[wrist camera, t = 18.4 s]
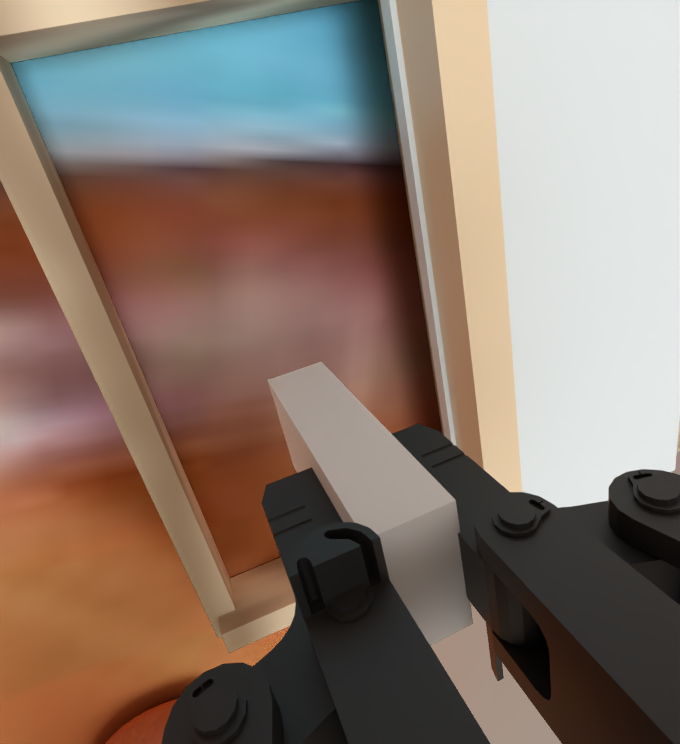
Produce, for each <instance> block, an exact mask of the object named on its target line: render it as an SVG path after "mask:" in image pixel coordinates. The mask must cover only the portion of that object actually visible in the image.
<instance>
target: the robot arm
mask: <svg viewBox="0 0 680 744" xmlns="http://www.w3.org/2000/svg"><path fill="white" fill-rule="evenodd" d="M268 383H269V387H270V390H271V393H272V397H273V400H274V403H275V407H276V410H277V413H278V417H279V420H280V423H281V426H282V430H283V433H284V436H285V440H286V443H287V446H288V450H289V453H290V456H291V460H292V463H293V466H294V468H295V470H296V472H297V473H296V474H293V475H291V476H288V477H286V478H283V479H281V480H278V481H276V482H273V483H270V484H268V485H266V489H265V493H264V497H263V501H262V505H263V508H264V511H265V514H266V516H267V519H268V522H269V525H270V528H271V531H272V534H273V537H274V539H275V542H276V545H277V548H278V551H279V554H280V557H281V560H282V562H283V565H284V568H285V571H286V574H287V576H288V579H289V582H290V585H291V588H292V590H293V593H294V596H295V601H296V606H295V615H294V618H293V620H292V623H291V626H290V628H289V629H288V631H287V633H286V634H285V636H284V637H283V639H282V640H281V641H280V642H279V643H278V644H277V645H276V646H275V647H274V648H273V649H272V650H271V651H270V652H269V653H268V654H267V655H266V656H265V657H263V658H262V659H261V660H260V661H259V662H258V663H256V664H255V665H254V666H253V667H252V666H249V665H247V664H244V663H229V664H222V665H220V666H218V667H215V668H213V669H211V670H208V671H206V672H204V673H203V674H202V675H200V676H199V677H198V678H197V679H196V680H194V681H193V682H192V683H191V684H189V685H188V686H187V687H186V688H185V690H184V691H183V693H182V694H181V695H180V697H179V698H178V700H177V701H176V702H175V704H174V705H173V706H172V709H171V712H170V715H169V717H168V720H167V723H166V726H165V728H164V733H163V738H162V743H161V744H490V742H489V741H488V739H487V738H486V736H485V734H484V733H483V731H482V729H481V728H480V726H479V725H478V723H477V721H476V720H475V718H474V717H473V715H472V713H471V711H470V710H469V708H468V707H467V705H466V703H465V702H464V700H463V698H462V697H461V695H460V694H459V692H458V690H457V689H456V687H455V685H454V684H453V682H452V681H451V679H450V677H449V676H448V674H447V672H446V671H445V669H444V667H443V666H442V664H441V663H440V661H439V659H438V658H437V656H436V654H435V653H434V651H433V650H432V648H431V646H430V645H432V644H434V643H436V642H438V641H440V640H442V639H444V638H446V637H448V636H450V635H452V634H454V633H456V632H458V631H459V630H461V629H464V628H465V627H467V626H469V625H471V624H473V620H472V613H471V605H470V602H471V603H472V604H473V606H474V607H475V608H476V610H477V611H478V612H479V614H480V615H481V616H482V617H483V619H484V620H485V621H486V626H487V634H488V642H489V650H490V658H491V666H492V670H493V672H494V674H495V676H496V678H497V681H499V680H501V679H503V669H502V662H503V664H504V665H505V667H506V668H507V669H508V671H509V672H510V673H511V675H512V676H513V678H514V679H515V680H516V682H517V683H518V684H519V686H520V687H521V688H522V690H523V691H524V692H525V694H526V695H527V697H528V698H529V699H530V701H531V702H532V703H533V705H534V706H535V707H536V709H537V710H538V712H539V713H540V714H541V716H542V717H543V718H544V720H545V721H546V722H547V724H548V725H549V726H550V728H551V729H552V731H553V732H554V733H555V735H556V736H557V737H558V738H559V740H560V741H561V743H562V744H680V475H678V474H674V473H670V472H666V471H663V470H650V469H641V470H634V471H628V472H625V473H623V474H621V475H620V476H618V477H616V478H614V480H613V481H612V483H611V484H610V486H609V491H608V501H602V502H596V503H590V504H584V505H578V506H572V507H560V508H557V507H556V506H555V505H554V504H552V503H551V502H549V501H547V500H545V499H543V498H542V497H540V496H537V495H533V494H529V493H525V492H509V491H508V490H507V489H506V488H505V487H504V486H502V485H501V484H500V483H499V482H498V481H497V480H495V479H494V478H493V477H492V476H491V475H489V474H488V473H487V472H486V471H485V470H484V469H482V468H481V467H480V466H479V465H478V464H477V463H475V462H474V461H473V460H472V459H471V458H470V457H468V456H467V455H466V456H465V454H464V452H463V451H461V450H460V449H459V448H458V447H457V446H456V445H453V443H452V442H451V441H450V440H449V439H447V438H446V437H445V436H444V435H443V434H442V433H440V432H439V431H438V430H435V429H432V428H429V427H426V426H423V425H420V424H416V425H414V426H411V427H409V428H406V429H404V430H401V431H398V432H396V433H393V434H391V433H390V432H389V431H388V430H387V429H386V428H385V427H384V426H383V425H382V424H381V422H380V421H379V420H378V419H377V418H376V417H375V416H374V415H373V414H372V413H371V412H370V411H369V410H368V409H367V408H366V407H365V406H364V405H363V404H362V403H361V402H360V401H359V400H358V399H357V398H356V397H355V396H354V395H353V394H352V393H351V392H350V391H349V389H348V388H347V387H346V386H345V385H344V384H343V383H342V382H341V381H340V380H339V379H338V378H337V377H336V376H335V375H334V374H333V373H332V372H331V371H330V370H329V369H328V368H327V367H326V366H325V365H324V364H323V363H322V362H318V363H315V364H312V365H309V366H306V367H303V368H300V369H297V370H294V371H291V372H289V373H286V374H283V375H280V376H277V377H274V378H271V379H268Z"/></svg>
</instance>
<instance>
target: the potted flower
mask: <svg viewBox="0 0 680 744" xmlns="http://www.w3.org/2000/svg"><path fill="white" fill-rule="evenodd" d="M177 700H178V699H175V700H172V701H169V702H166V703H163V704H160V705H158V706H156V707H153V708H151V709H149V710H147V711H145V712H143V713H142V714H140V715H138V716H136V717H135V718H133V719H132V720H130V721H129V722H127V723H126V724H125V725H123V726H122V727H121V728H120V729H119V730H118V731H116V732H115V733H114V734H113V735H112V736H111V737H110V739H109V740H108V741H107V742H106V743H105V744H161V743H162V738H163V733H164V728H165V726H166V723H167V720H168V717H169V715H170V712H171V709H172V706H173V705H174V704H175V702H176V701H177Z"/></svg>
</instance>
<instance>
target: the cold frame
mask: <svg viewBox="0 0 680 744" xmlns="http://www.w3.org/2000/svg"><path fill="white" fill-rule="evenodd" d="M352 1H358V0H0V180H1V182H2V184H3V186H4V189H5V191H6V193H7V195H8V197H9V199H10V201H11V203H12V205H13V207H14V210H15V212H16V214H17V216H18V218H19V220H20V222H21V224H22V226H23V229H24V231H25V233H26V235H27V237H28V239H29V241H30V243H31V245H32V248H33V250H34V252H35V254H36V256H37V258H38V260H39V262H40V264H41V266H42V269H43V271H44V273H45V275H46V277H47V279H48V281H49V283H50V285H51V288H52V290H53V292H54V294H55V296H56V298H57V300H58V302H59V304H60V306H61V309H62V311H63V313H64V315H65V317H66V319H67V321H68V323H69V325H70V328H71V330H72V332H73V334H74V336H75V338H76V340H77V342H78V344H79V346H80V349H81V351H82V353H83V355H84V357H85V359H86V361H87V363H88V365H89V368H90V370H91V372H92V374H93V376H94V378H95V380H96V382H97V384H98V387H99V389H100V391H101V393H102V395H103V397H104V399H105V401H106V403H107V405H108V408H109V410H110V412H111V414H112V416H113V418H114V420H115V422H116V424H117V427H118V429H119V431H120V433H121V435H122V437H123V439H124V441H125V443H126V445H127V448H128V450H129V452H130V454H131V456H132V458H133V460H134V462H135V464H136V467H137V469H138V471H139V473H140V475H141V477H142V479H143V481H144V483H145V486H146V488H147V490H148V492H149V494H150V496H151V498H152V500H153V502H154V504H155V507H156V509H157V511H158V513H159V515H160V517H161V519H162V521H163V523H164V526H165V528H166V530H167V532H168V534H169V536H170V538H171V540H172V542H173V544H174V547H175V549H176V551H177V553H178V555H179V557H180V559H181V561H182V563H183V566H184V568H185V570H186V572H187V574H188V576H189V578H190V580H191V582H192V585H193V587H194V589H195V591H196V593H197V595H198V597H199V599H200V601H201V603H202V606H203V608H204V610H205V612H206V614H207V616H208V618H209V620H210V622H211V625H212V627H213V629H214V631H215V633H216V635H217V637H218V638H220V637H222V639H223V641H224V643H225V645H226V647H227V649H228V651H229V653H231V652H233V651H235V650H237V649H239V648H242V647H244V646H246V645H248V644H251V643H253V642H255V641H257V640H259V639H262V638H264V637H266V636H268V635H271V634H273V633H275V632H277V631H279V630H282V629H284V628H286V627H288V626H291V623H292V620H293V618H294V615H295V606H296V601H295V596H294V593H293V590H292V588H291V585H290V582H289V579H288V576H287V574H286V571H285V568H284V565H283V562H282V560H281V557H280V558H278V559H275V560H273V561H270V562H268V563H266V564H263V565H261V566H258V567H256V568H254V569H251V570H249V571H246V572H244V573H242V574H239V575H237V576H234V577H232V578H230V577H229V574H228V572H227V570H226V567H225V565H224V563H223V560H222V558H221V556H220V553H219V551H218V549H217V546H216V544H215V542H214V539H213V537H212V534H211V532H210V530H209V527H208V525H207V523H206V520H205V518H204V516H203V513H202V511H201V509H200V506H199V504H198V502H197V499H196V497H195V495H194V492H193V490H192V488H191V485H190V483H189V481H188V478H187V476H186V474H185V471H184V469H183V466H182V464H181V462H180V459H179V457H178V455H177V452H176V450H175V448H174V445H173V443H172V441H171V438H170V436H169V434H168V431H167V429H166V427H165V424H164V422H163V420H162V417H161V415H160V413H159V410H158V408H157V406H156V403H155V401H154V399H153V396H152V394H151V391H150V389H149V387H148V384H147V382H146V380H145V377H144V375H143V373H142V370H141V368H140V366H139V363H138V361H137V359H136V356H135V354H134V352H133V349H132V347H131V345H130V342H129V340H128V338H127V335H126V333H125V331H124V328H123V326H122V323H121V321H120V319H119V316H118V314H117V312H116V309H115V307H114V305H113V302H112V300H111V298H110V295H109V293H108V291H107V288H106V286H105V284H104V281H103V279H102V277H101V274H100V272H99V270H98V267H97V265H96V263H95V260H94V258H93V255H92V253H91V251H90V248H89V246H88V244H87V241H86V239H85V237H84V234H83V232H82V230H81V227H80V225H79V223H78V220H77V218H76V216H75V213H74V211H73V209H72V206H71V204H70V202H69V199H68V197H67V195H66V192H65V190H64V187H63V185H62V183H61V180H60V178H59V176H58V173H57V171H56V169H55V166H54V164H53V162H52V159H51V157H50V155H49V152H48V150H47V148H46V145H45V143H44V141H43V138H42V136H41V134H40V131H39V129H38V127H37V124H36V122H35V119H34V117H33V115H32V112H31V110H30V108H29V105H28V103H27V101H26V98H25V96H24V94H23V91H22V89H21V87H20V84H19V82H18V80H17V77H16V75H15V73H14V70H13V68H12V66H11V63H13V62H19V61H25V60H30V59H36V58H41V57H47V56H52V55H58V54H63V53H69V52H75V51H80V50H86V49H91V48H97V47H102V46H108V45H113V44H119V43H125V42H130V41H136V40H141V39H147V38H152V37H158V36H163V35H169V34H175V33H180V32H186V31H191V30H197V29H202V28H208V27H213V26H219V25H225V24H230V23H236V22H241V21H247V20H252V19H258V18H263V17H269V16H275V15H280V14H286V13H291V12H297V11H302V10H308V9H313V8H319V7H325V6H330V5H336V4H341V3H347V2H352ZM378 7H379V13H380V20H381V27H382V34H383V40H384V47H385V54H386V60H387V67H388V74H389V80H390V87H391V94H392V101H393V107H394V114H395V121H396V127H397V134H398V141H399V148H400V154H401V161H402V168H403V174H404V181H405V188H406V195H407V201H408V208H409V215H410V221H411V228H412V235H413V242H414V248H415V255H416V262H417V268H418V275H419V282H420V288H421V295H422V302H423V309H424V315H425V322H426V329H427V335H428V342H429V349H430V356H431V362H432V369H433V376H434V382H435V389H436V396H437V403H438V409H439V416H440V423H441V429H442V434H443V435H444V431H443V424H442V417H441V410H440V404H439V397H438V390H437V383H436V376H435V370H434V363H433V356H432V349H431V342H430V336H429V329H428V322H427V315H426V309H425V302H424V295H423V288H422V281H421V275H420V268H419V261H418V254H417V247H416V241H415V234H414V227H413V220H412V213H411V207H410V200H409V193H408V186H407V179H406V173H405V166H404V159H403V152H402V145H401V139H400V132H399V125H398V118H397V112H396V105H395V98H394V91H393V84H392V78H391V71H390V64H389V57H388V50H387V44H386V37H385V30H384V23H383V16H382V10H381V3H380V0H378ZM678 451H680V421H679V432H678V443H677V452H678Z"/></svg>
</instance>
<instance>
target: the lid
mask: <svg viewBox="0 0 680 744" xmlns="http://www.w3.org/2000/svg"><path fill="white" fill-rule="evenodd" d="M380 3H381V10H382V16H383V23H384V30H385V37H386V44H387V50H388V57H389V64H390V71H391V78H392V84H393V91H394V98H395V105H396V112H397V118H398V125H399V132H400V139H401V145H402V152H403V159H404V166H405V173H406V179H407V186H408V193H409V200H410V207H411V213H412V220H413V227H414V234H415V241H416V247H417V254H418V261H419V268H420V275H421V281H422V288H423V295H424V302H425V309H426V315H427V322H428V329H429V336H430V342H431V349H432V356H433V363H434V370H435V376H436V383H437V390H438V397H439V404H440V410H441V417H442V424H443V431H444V436H445V437H446V438H447V439H449V440H450V441H451V442H452V443H453V445H456V446H457V447H458V448H459V449H460V450H461V451H463V452H464V454H465V456H466V455H467V456H468V457H470V458H471V459H472V460H473V461H474V462H475V463H477V464H478V465H479V466H480V467H481V468H482V469H484V470H485V471H486V472H487V473H488V474H489V475H491V476H492V477H493V478H494V479H495V480H497V481H498V482H499V483H500V484H501V485H502V486H504V487H505V488H506V489H507V490H508V491H509V492H525V493H529V494H533V495H537V496H540V497H542V498H543V499H545V500H547V501H549V502H551V503H552V504H554V505H555V506H556V507H557V508H560V507H572V506H578V505H584V504H590V503H596V502H602V501H608V491H609V486H610V484H611V483H612V481H613V480H614V478H616V477H618V476H620V475H621V474H623V473H625V472H628V471H634V470H641V469H650V470H663V471H666V472H671V471H674V470H675V465H676V454H677V443H678V432H679V421H680V0H380Z"/></svg>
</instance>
